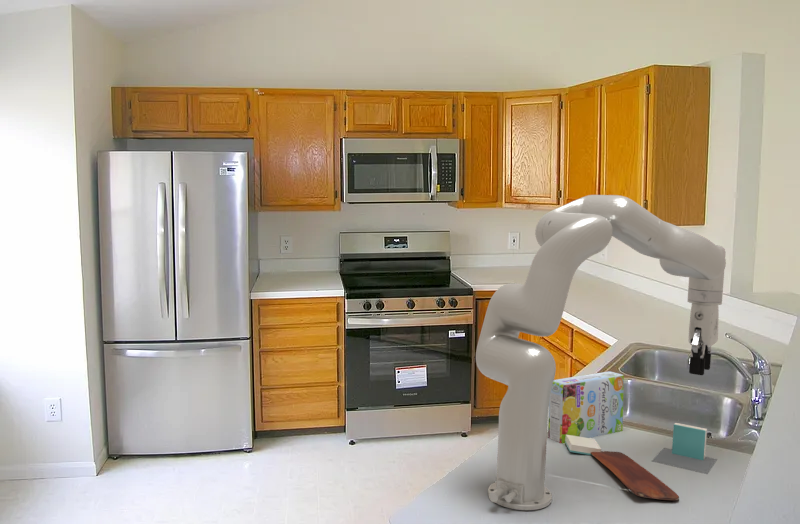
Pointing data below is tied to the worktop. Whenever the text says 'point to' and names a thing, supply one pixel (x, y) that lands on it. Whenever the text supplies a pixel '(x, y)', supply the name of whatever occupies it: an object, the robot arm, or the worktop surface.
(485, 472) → the worktop surface
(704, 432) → the tile
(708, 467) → the mat
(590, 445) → the tile
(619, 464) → the wooden tablet
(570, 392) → the snack box
